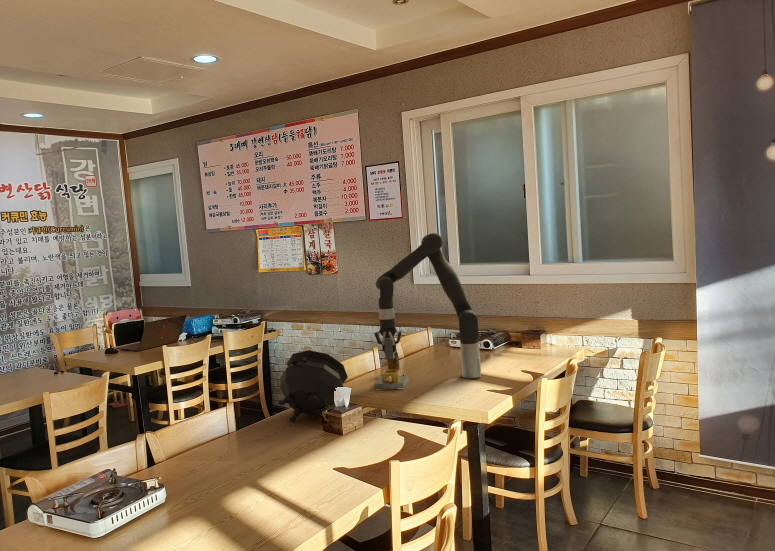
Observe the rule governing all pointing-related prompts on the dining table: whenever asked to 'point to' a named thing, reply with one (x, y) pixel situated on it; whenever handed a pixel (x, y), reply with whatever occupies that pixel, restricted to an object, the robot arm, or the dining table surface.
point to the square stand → (391, 380)
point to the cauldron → (311, 382)
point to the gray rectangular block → (388, 349)
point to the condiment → (394, 363)
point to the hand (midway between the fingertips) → (389, 352)
